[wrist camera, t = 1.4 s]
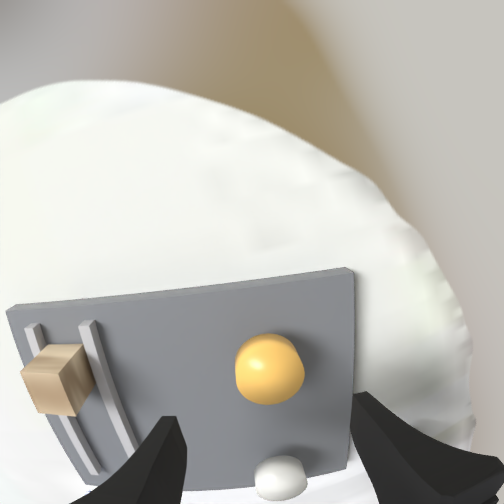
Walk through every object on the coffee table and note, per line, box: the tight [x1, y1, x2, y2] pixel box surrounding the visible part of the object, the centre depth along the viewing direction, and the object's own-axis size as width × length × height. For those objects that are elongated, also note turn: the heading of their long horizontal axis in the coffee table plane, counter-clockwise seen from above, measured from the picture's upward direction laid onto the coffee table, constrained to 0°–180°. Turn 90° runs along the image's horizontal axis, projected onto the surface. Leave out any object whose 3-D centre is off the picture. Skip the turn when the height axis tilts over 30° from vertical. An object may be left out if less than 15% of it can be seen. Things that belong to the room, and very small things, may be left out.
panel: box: [6, 267, 355, 491], centre depth 20 cm, size 18×24×2 cm
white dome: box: [254, 456, 308, 501], centre depth 19 cm, size 4×4×2 cm
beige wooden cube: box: [20, 344, 96, 416], centre depth 16 cm, size 3×3×4 cm
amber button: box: [235, 333, 305, 405], centre depth 17 cm, size 4×4×2 cm
